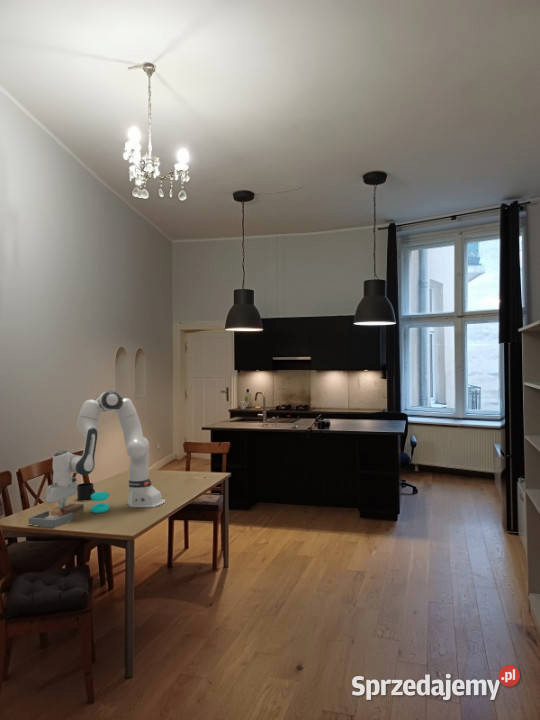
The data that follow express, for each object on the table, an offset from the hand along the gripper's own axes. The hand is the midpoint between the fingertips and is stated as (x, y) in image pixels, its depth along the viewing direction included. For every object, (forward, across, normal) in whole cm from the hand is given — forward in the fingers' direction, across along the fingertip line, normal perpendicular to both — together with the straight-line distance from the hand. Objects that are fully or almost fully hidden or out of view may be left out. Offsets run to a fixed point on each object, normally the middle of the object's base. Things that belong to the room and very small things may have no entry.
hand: (62, 506), depth 285 cm
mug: (+6, +36, +13) cm, 39 cm away
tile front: (+3, -8, 0) cm, 8 cm away
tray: (+6, -9, 0) cm, 11 cm away
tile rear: (+2, -3, 0) cm, 4 cm away
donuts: (+6, +16, -12) cm, 21 cm away
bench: (+6, +4, 0) cm, 8 cm away
